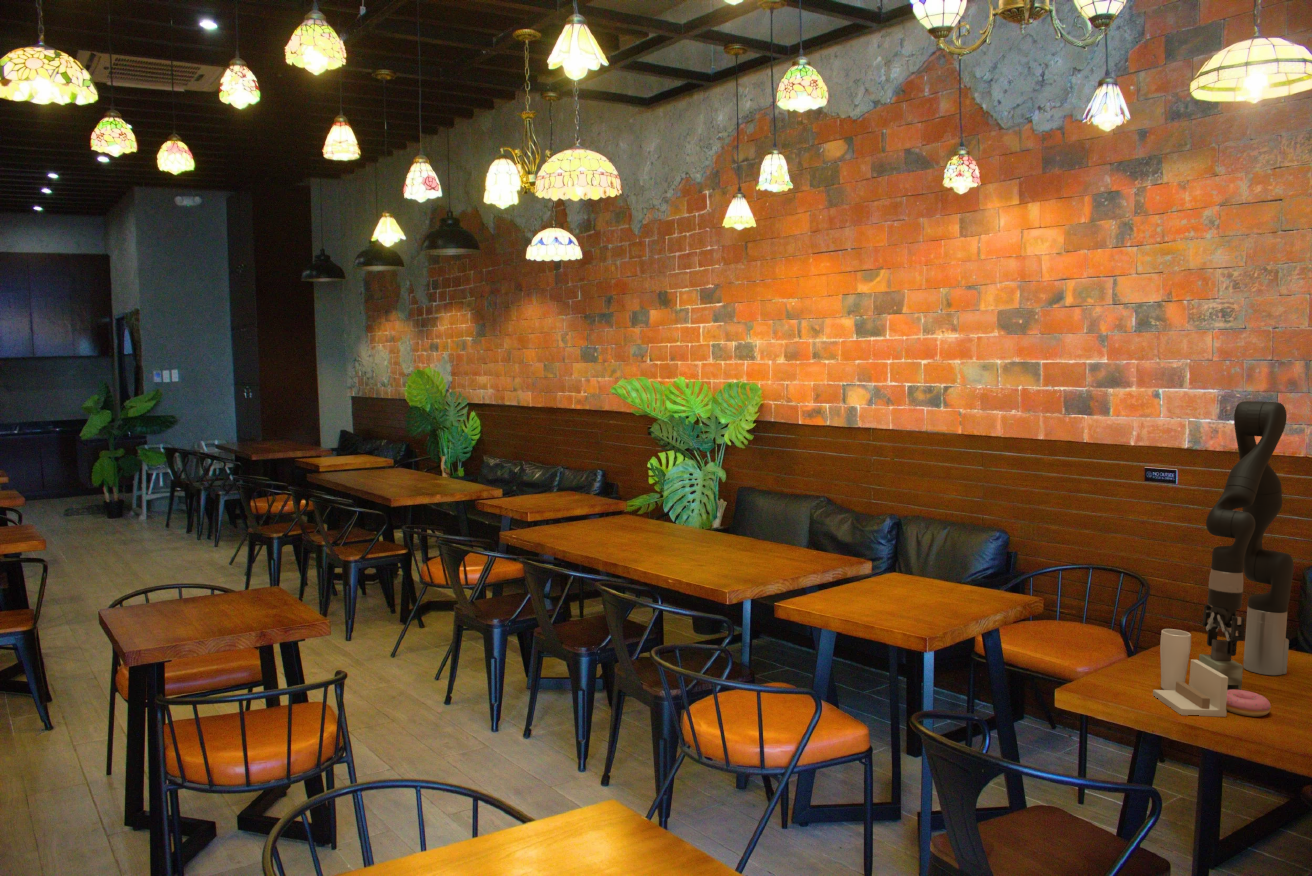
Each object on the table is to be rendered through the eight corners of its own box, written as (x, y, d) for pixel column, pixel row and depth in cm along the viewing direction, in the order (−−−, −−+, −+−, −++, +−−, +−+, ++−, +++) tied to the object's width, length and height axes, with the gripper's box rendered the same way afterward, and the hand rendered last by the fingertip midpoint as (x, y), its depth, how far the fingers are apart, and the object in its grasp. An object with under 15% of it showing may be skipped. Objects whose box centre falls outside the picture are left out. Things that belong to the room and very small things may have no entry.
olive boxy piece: (1220, 684, 250) (1224, 636, 249) (1240, 696, 241) (1244, 646, 240) (1197, 684, 250) (1200, 635, 249) (1216, 696, 241) (1220, 645, 240)
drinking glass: (1191, 695, 241) (1195, 637, 240) (1162, 693, 242) (1166, 634, 241) (1182, 686, 248) (1186, 629, 246) (1153, 684, 249) (1157, 627, 248)
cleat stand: (1195, 696, 240) (1197, 659, 239) (1226, 716, 226) (1228, 677, 226) (1152, 695, 240) (1155, 658, 240) (1181, 715, 227) (1183, 676, 226)
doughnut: (1221, 699, 239) (1222, 683, 239) (1273, 710, 232) (1274, 693, 232) (1213, 711, 231) (1214, 694, 230) (1267, 722, 224) (1268, 705, 223)
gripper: (1257, 595, 236) (1252, 659, 237) (1224, 582, 251) (1220, 643, 252) (1226, 593, 237) (1221, 658, 238) (1195, 581, 251) (1191, 642, 252)
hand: (1220, 650), depth 245 cm, fingers open, 8 cm apart
